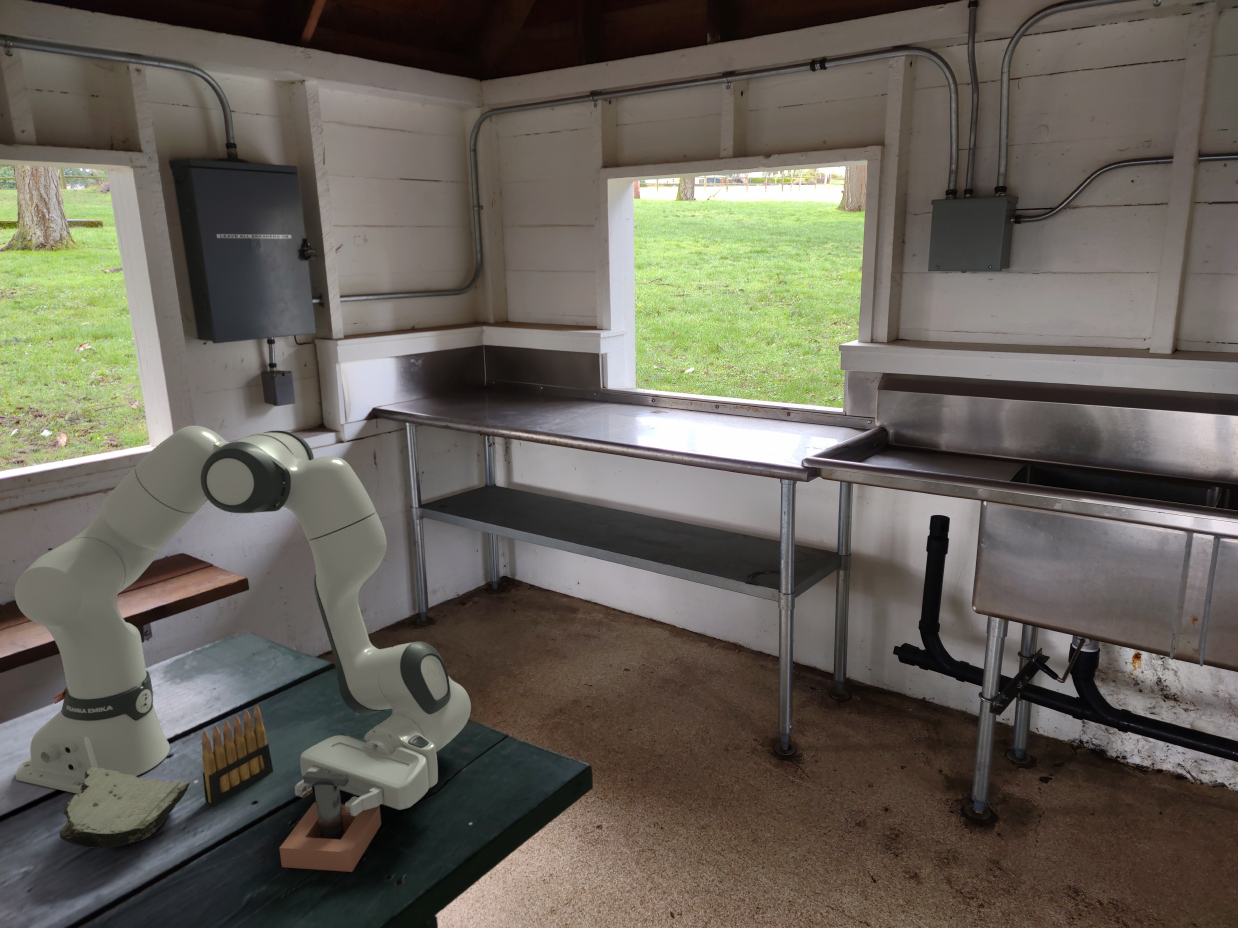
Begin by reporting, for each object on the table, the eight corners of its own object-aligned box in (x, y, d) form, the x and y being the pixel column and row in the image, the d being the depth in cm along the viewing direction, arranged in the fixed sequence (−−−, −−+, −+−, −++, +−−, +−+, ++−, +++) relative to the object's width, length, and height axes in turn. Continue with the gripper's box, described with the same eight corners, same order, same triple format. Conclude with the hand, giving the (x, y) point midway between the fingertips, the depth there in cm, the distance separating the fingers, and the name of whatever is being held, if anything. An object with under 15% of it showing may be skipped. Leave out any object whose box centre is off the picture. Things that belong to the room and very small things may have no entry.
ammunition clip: (212, 806, 129) (202, 735, 126) (205, 802, 130) (194, 731, 127) (273, 771, 137) (265, 703, 135) (266, 767, 138) (257, 700, 136)
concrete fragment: (203, 782, 130) (159, 781, 116) (174, 855, 127) (126, 863, 113) (112, 759, 131) (58, 755, 117) (81, 831, 127) (21, 836, 113)
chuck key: (307, 850, 118) (299, 780, 116) (319, 835, 121) (311, 766, 119) (348, 853, 117) (340, 783, 115) (358, 838, 120) (351, 769, 118)
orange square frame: (281, 866, 115) (279, 847, 114) (316, 820, 125) (314, 802, 124) (352, 871, 114) (350, 852, 113) (381, 823, 124) (379, 805, 123)
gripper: (339, 716, 133) (267, 762, 121) (443, 747, 124) (377, 800, 112) (342, 752, 134) (272, 801, 122) (446, 785, 125) (381, 841, 113)
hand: (323, 801), depth 117 cm, fingers open, 8 cm apart
